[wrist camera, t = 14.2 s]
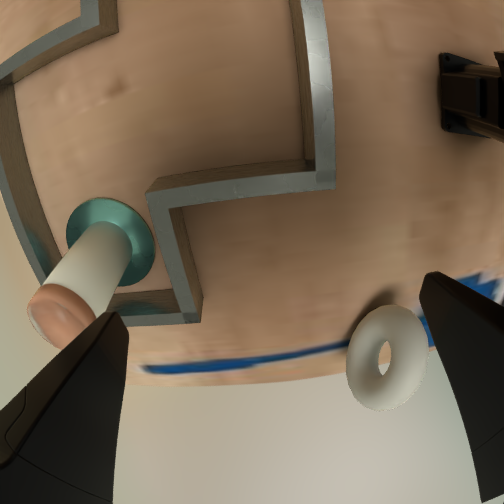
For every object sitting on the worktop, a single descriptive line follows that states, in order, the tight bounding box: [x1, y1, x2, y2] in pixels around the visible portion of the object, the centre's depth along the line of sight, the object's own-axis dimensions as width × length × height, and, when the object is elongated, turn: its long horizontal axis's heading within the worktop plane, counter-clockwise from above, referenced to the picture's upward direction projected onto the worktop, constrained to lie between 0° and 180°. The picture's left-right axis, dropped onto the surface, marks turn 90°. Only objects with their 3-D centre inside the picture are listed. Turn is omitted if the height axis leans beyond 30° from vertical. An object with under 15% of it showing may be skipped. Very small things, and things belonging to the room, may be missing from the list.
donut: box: [346, 305, 429, 411], centre depth 23 cm, size 10×4×10 cm, turn 162°
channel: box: [0, 0, 336, 327], centre depth 14 cm, size 23×32×3 cm
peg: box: [27, 221, 133, 350], centre depth 17 cm, size 4×4×9 cm
